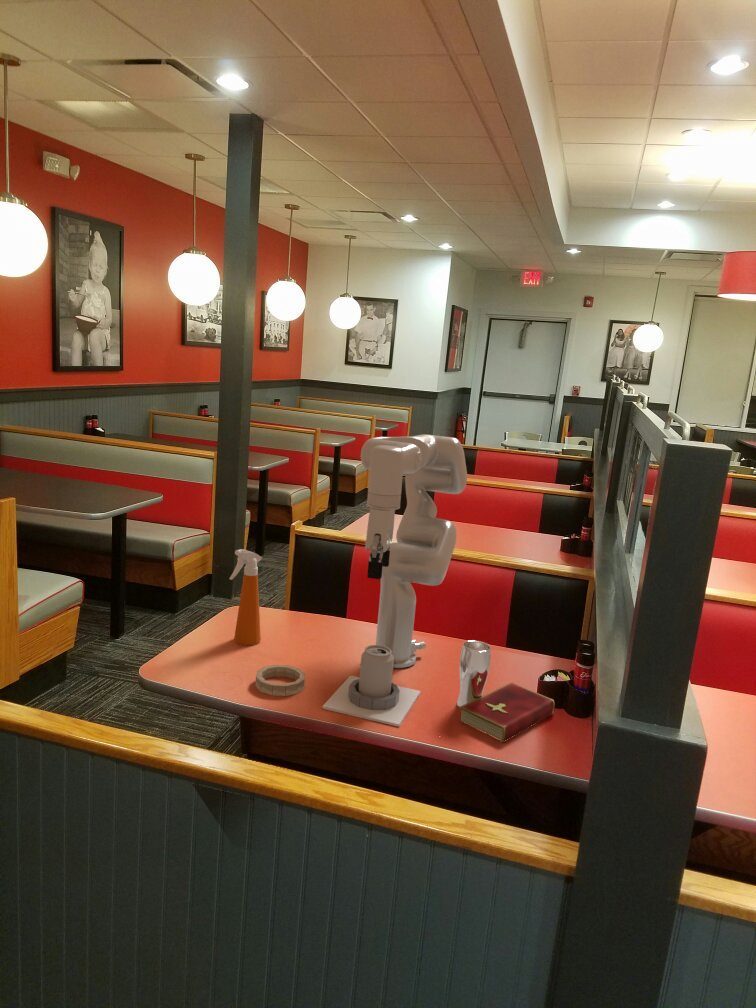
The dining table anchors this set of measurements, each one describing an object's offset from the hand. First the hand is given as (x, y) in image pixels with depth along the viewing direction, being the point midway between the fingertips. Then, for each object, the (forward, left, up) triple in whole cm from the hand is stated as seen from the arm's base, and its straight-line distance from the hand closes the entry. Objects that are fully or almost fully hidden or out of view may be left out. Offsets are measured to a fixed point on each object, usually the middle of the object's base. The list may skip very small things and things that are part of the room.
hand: (378, 571), depth 169 cm
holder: (+2, +6, -29) cm, 30 cm away
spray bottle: (+16, -37, -30) cm, 50 cm away
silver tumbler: (-17, +17, -30) cm, 38 cm away
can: (+2, +6, -29) cm, 29 cm away
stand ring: (+18, -10, -29) cm, 36 cm away
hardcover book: (-22, +25, -30) cm, 45 cm away
